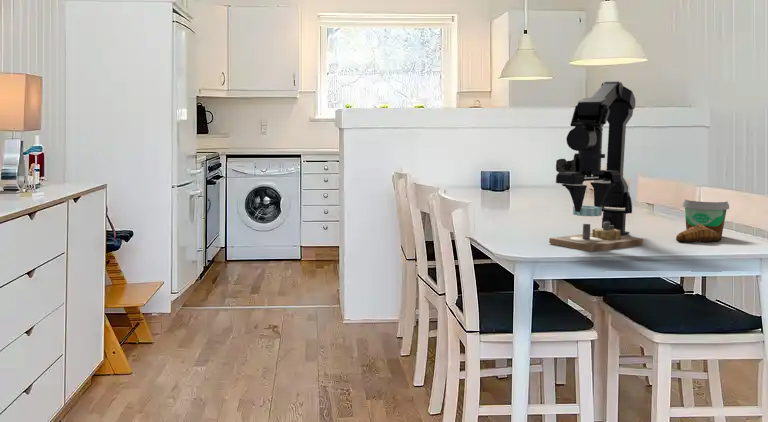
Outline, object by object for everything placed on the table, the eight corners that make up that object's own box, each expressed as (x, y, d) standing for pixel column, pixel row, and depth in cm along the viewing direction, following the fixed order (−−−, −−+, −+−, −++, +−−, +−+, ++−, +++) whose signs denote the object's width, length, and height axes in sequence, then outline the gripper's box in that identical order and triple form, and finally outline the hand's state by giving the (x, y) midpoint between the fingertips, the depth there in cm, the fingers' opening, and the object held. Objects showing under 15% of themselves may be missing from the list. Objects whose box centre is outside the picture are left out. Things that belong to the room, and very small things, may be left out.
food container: (680, 236, 217) (682, 201, 216) (680, 233, 223) (682, 199, 221) (728, 239, 212) (730, 203, 211) (727, 236, 218) (729, 201, 217)
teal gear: (585, 212, 203) (585, 204, 202) (607, 215, 197) (607, 207, 197) (567, 214, 199) (567, 206, 198) (589, 217, 193) (589, 209, 193)
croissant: (684, 245, 203) (685, 226, 202) (669, 241, 210) (670, 222, 209) (729, 243, 206) (730, 225, 206) (712, 239, 213) (713, 221, 212)
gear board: (599, 237, 212) (600, 217, 212) (642, 244, 201) (643, 223, 201) (549, 243, 201) (550, 222, 200) (592, 251, 190) (593, 229, 189)
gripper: (588, 148, 208) (586, 205, 210) (540, 149, 197) (538, 209, 199) (623, 149, 199) (620, 209, 201) (574, 150, 188) (572, 214, 190)
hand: (587, 210), depth 198 cm, fingers closed on teal gear, 7 cm apart
